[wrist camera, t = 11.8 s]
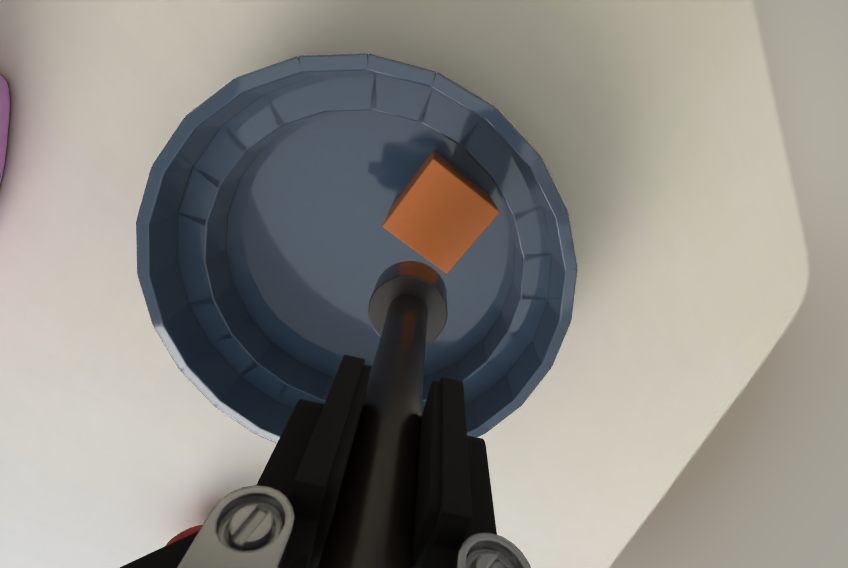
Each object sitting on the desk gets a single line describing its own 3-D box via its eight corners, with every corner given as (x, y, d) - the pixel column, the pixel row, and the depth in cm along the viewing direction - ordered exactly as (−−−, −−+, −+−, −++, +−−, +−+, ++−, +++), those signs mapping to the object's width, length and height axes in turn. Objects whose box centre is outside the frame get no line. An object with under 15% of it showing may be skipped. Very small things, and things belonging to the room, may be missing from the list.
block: (490, 195, 24) (500, 212, 20) (445, 249, 25) (447, 274, 21) (433, 149, 23) (433, 158, 19) (389, 208, 24) (381, 226, 21)
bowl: (604, 123, 23) (653, 129, 18) (488, 429, 31) (498, 493, 26) (202, 17, 21) (130, -11, 16) (191, 366, 29) (140, 421, 24)
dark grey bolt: (455, 270, 19) (492, 628, 5) (436, 334, 20) (431, 756, 7) (382, 252, 18) (243, 578, 5) (368, 317, 20) (224, 718, 6)
